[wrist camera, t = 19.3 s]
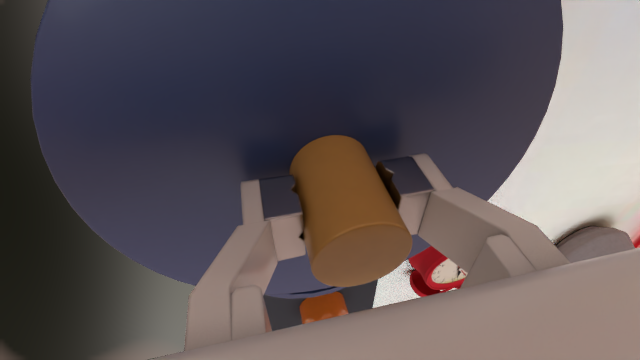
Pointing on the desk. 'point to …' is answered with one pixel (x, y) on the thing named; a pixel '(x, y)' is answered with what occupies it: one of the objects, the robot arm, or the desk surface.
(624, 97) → the desk surface
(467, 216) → the robot arm
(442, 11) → the lid
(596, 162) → the desk surface
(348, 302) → the desk mat
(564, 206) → the desk surface
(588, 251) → the coffee pot
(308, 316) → the orange canister
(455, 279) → the alarm clock
